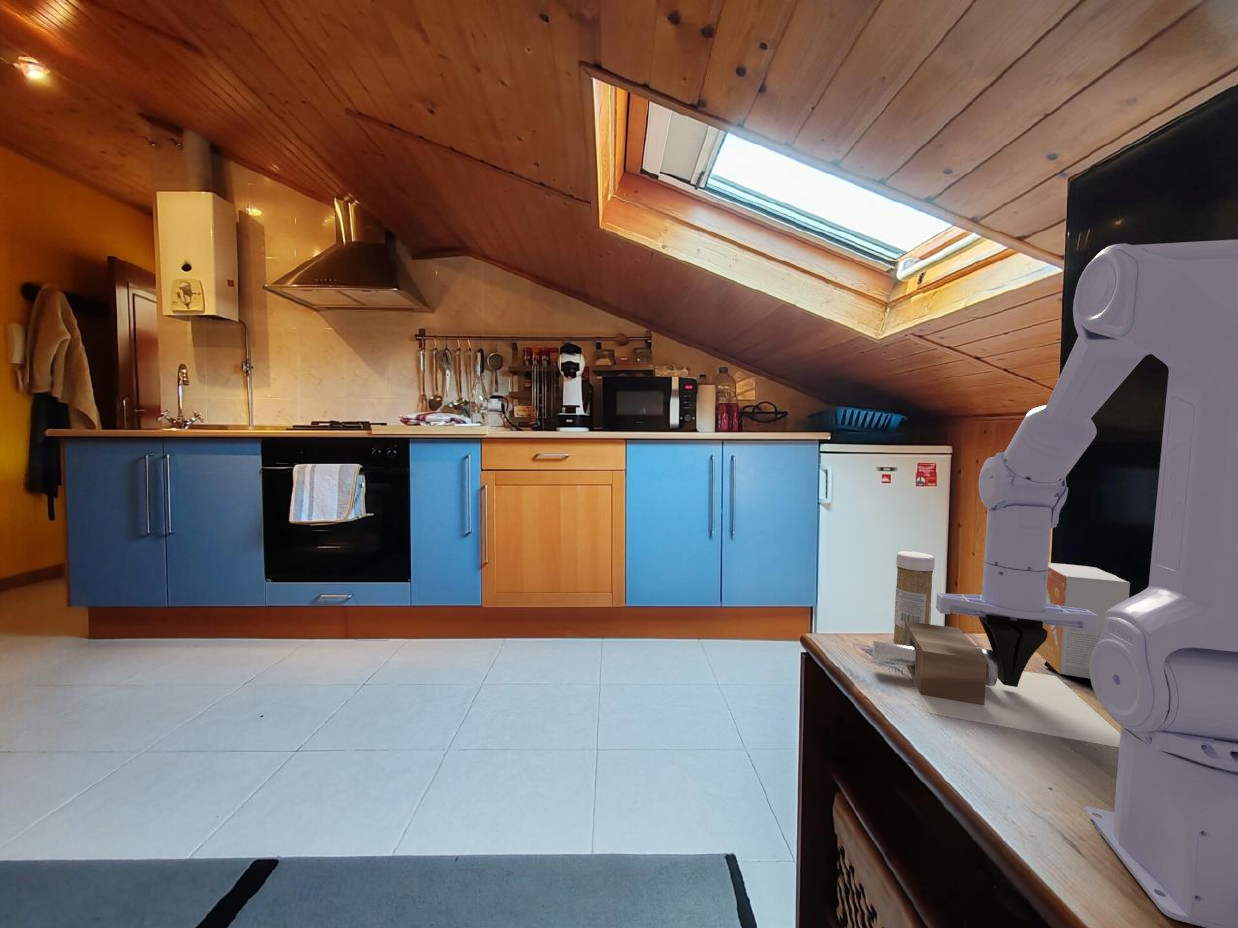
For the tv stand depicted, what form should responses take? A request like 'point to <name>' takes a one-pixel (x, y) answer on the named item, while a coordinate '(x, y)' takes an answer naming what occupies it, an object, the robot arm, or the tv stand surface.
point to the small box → (1081, 591)
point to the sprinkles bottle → (912, 591)
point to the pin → (908, 657)
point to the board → (1032, 710)
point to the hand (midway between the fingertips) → (1007, 682)
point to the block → (946, 663)
